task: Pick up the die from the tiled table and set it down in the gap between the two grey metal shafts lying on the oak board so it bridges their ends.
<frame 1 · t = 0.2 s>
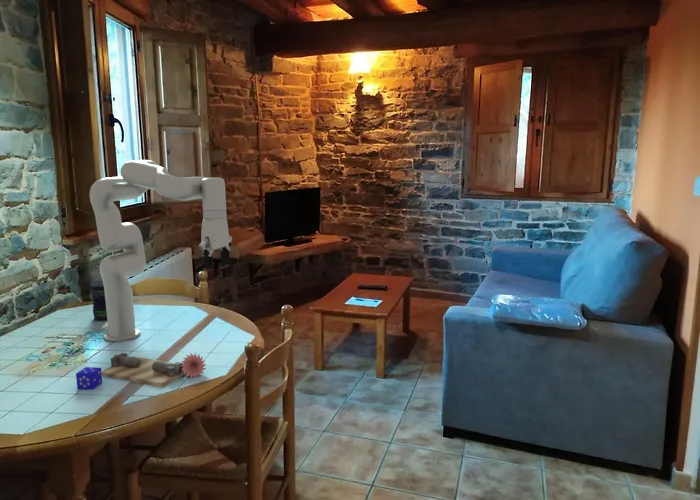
hand: (217, 265, 182), 31 cm above the table, tool pointing down, fingers open, 9 cm apart
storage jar: (106, 318, 227), on the table
shaft bed: (147, 372, 170), on the table
die: (90, 386, 160), on the table
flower: (194, 375, 168), on the table
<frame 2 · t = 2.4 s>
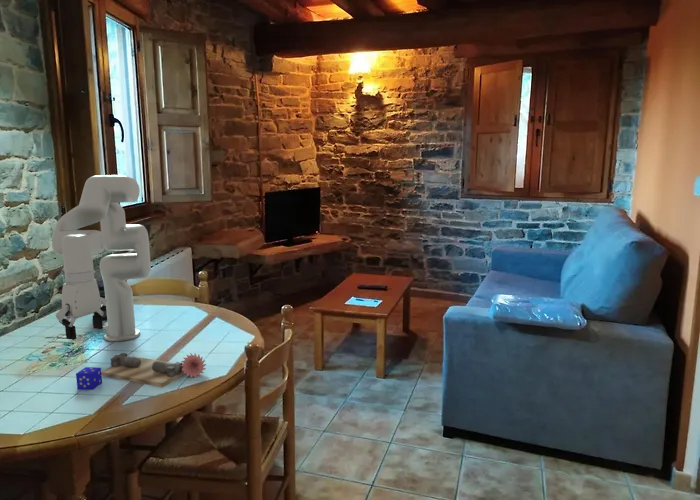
hand: (85, 333, 157), 16 cm above the table, tool pointing down, fingers open, 9 cm apart
nothing on the table moved.
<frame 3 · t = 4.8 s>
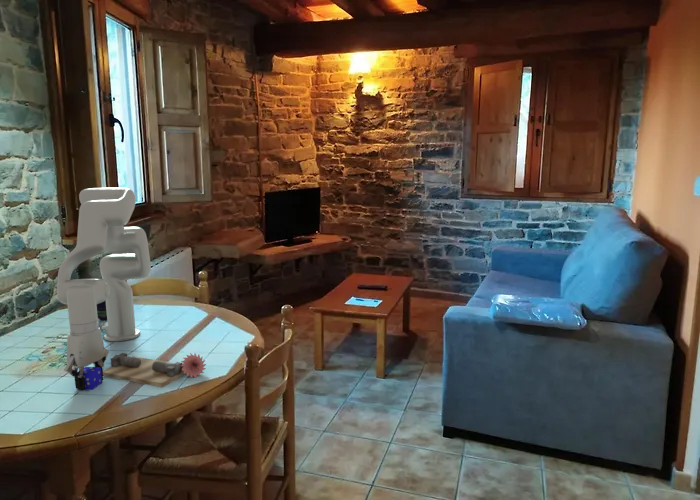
hand: (89, 383, 160), 1 cm above the table, tool pointing down, fingers closed on die, 6 cm apart
die: (90, 386, 160), on the table, touching gripper
everything else where it was.
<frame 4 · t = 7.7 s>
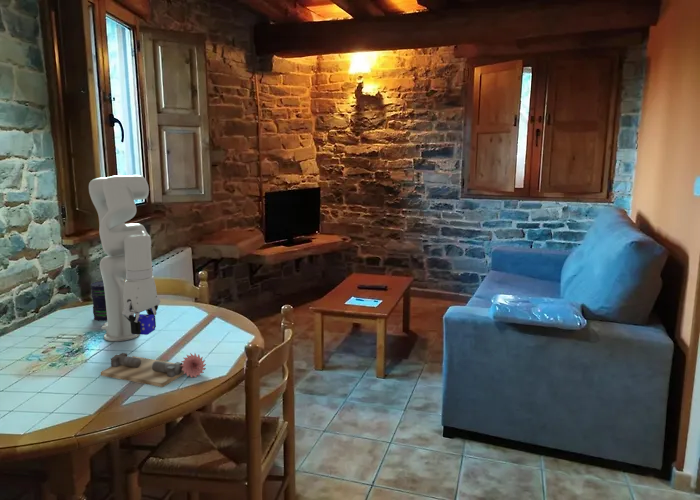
hand: (143, 330, 167), 14 cm above the table, tool pointing down, fingers closed on die, 6 cm apart
die: (144, 332, 168), point 13 cm above the table, touching gripper
everything else where it was.
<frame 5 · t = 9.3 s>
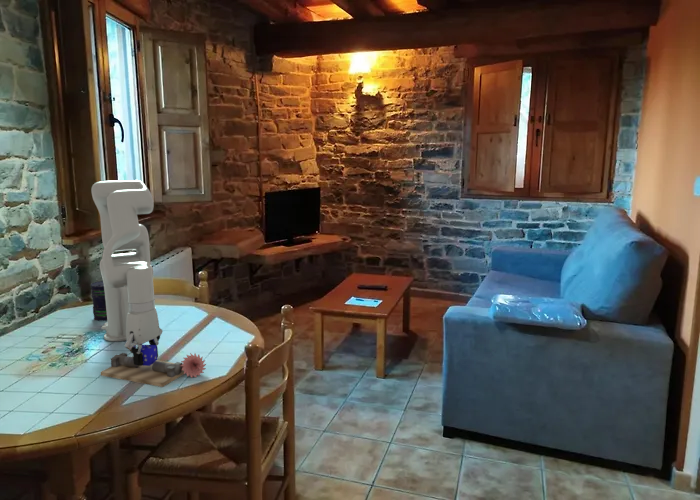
hand: (146, 360, 169), 4 cm above the table, tool pointing down, fingers closed on die, 6 cm apart
die: (146, 363, 169), point 3 cm above the table, touching gripper
everything else where it was.
when the fingers open (3 cm above the table, at t = 10.4 s): die drops 1 cm, resting on shaft bed.
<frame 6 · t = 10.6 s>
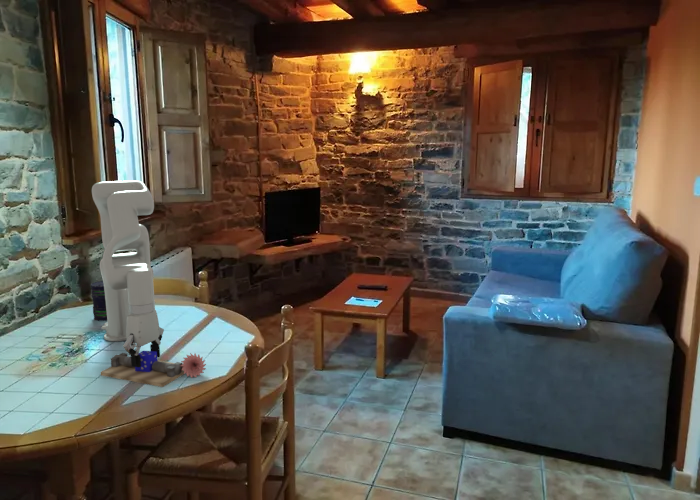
hand: (146, 361, 169), 4 cm above the table, tool pointing down, fingers open, 8 cm apart
die: (146, 369, 170), point 1 cm above the table, touching shaft bed
everything else where it was.
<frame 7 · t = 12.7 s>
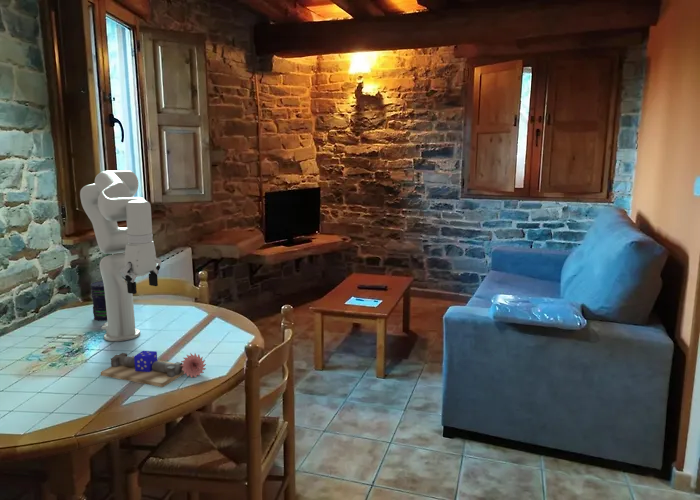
hand: (143, 289, 177), 24 cm above the table, tool pointing down, fingers open, 9 cm apart
nothing on the table moved.
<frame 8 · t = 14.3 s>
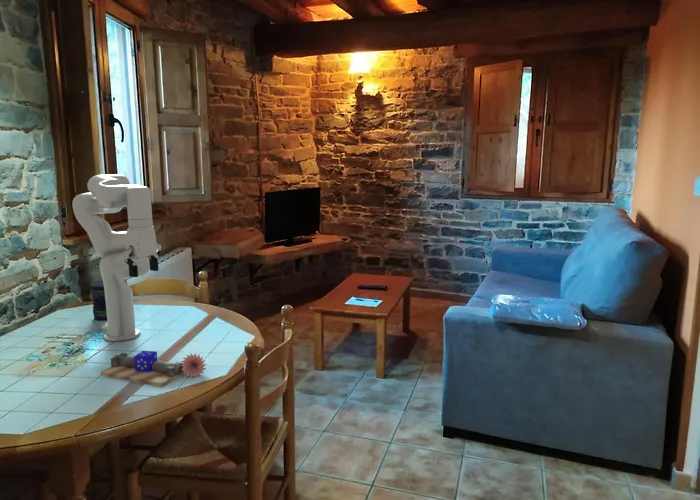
hand: (144, 273, 182), 28 cm above the table, tool pointing down, fingers open, 9 cm apart
nothing on the table moved.
at the end: die 0.1 cm off-centre on the shaft bed, point 1.0 cm above the shaft bed's base; the gripper is holding nothing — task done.
